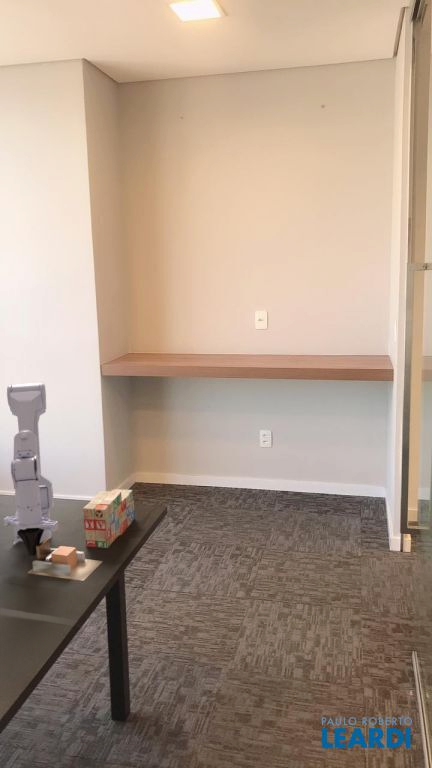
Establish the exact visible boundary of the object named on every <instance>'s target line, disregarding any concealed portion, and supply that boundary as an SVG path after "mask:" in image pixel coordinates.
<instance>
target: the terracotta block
mask: <svg viewBox="0 0 432 768" xmlns="http://www.w3.org/2000/svg"><path fill="white" fill-rule="evenodd" d="M56 548H57V549H56V550H55V551H54V552H53V553H52V554H51V557H52V563H59V564H66V565H70V568H71V569H72V568H73V567H74V566H76V565H77V554H76V551H77V548H76V547H73V546H64V545H60V546H58V547H56Z"/></svg>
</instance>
